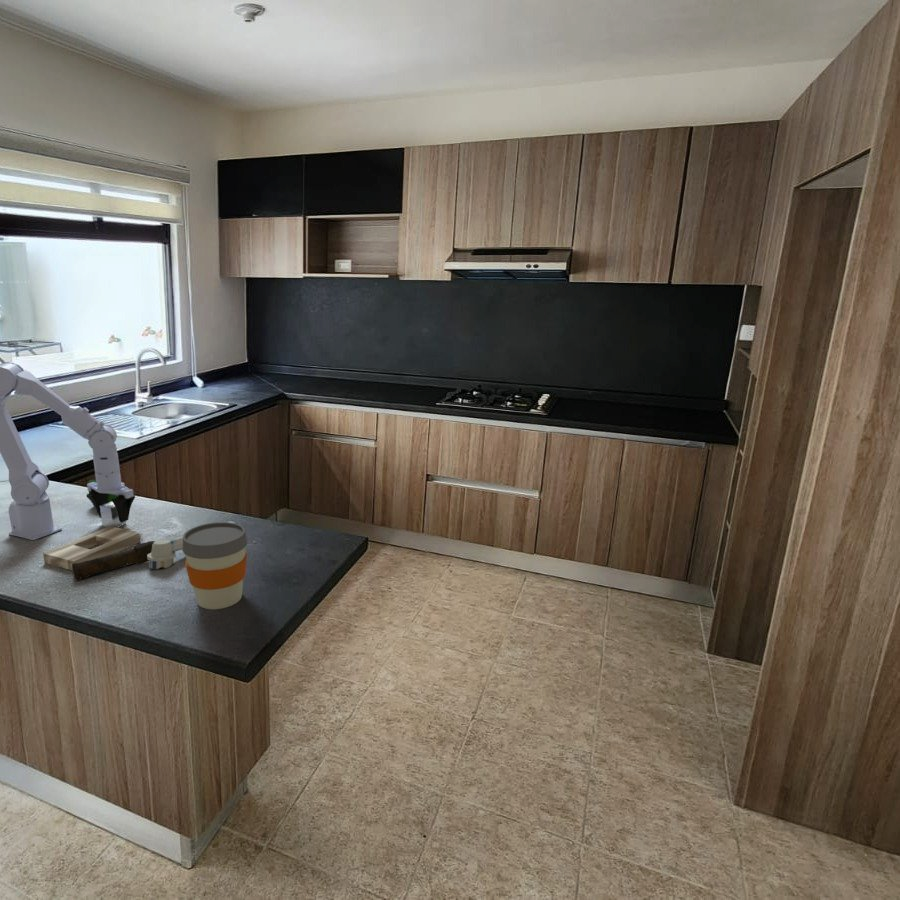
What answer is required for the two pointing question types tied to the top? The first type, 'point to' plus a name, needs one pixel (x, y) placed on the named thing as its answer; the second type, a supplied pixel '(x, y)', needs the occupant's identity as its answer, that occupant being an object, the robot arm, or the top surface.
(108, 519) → the pale grey block
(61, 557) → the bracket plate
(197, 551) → the reusable coffee cup
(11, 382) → the robot arm
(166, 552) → the white elongated piece
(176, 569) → the top surface
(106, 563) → the dark brown wood piece
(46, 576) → the top surface
